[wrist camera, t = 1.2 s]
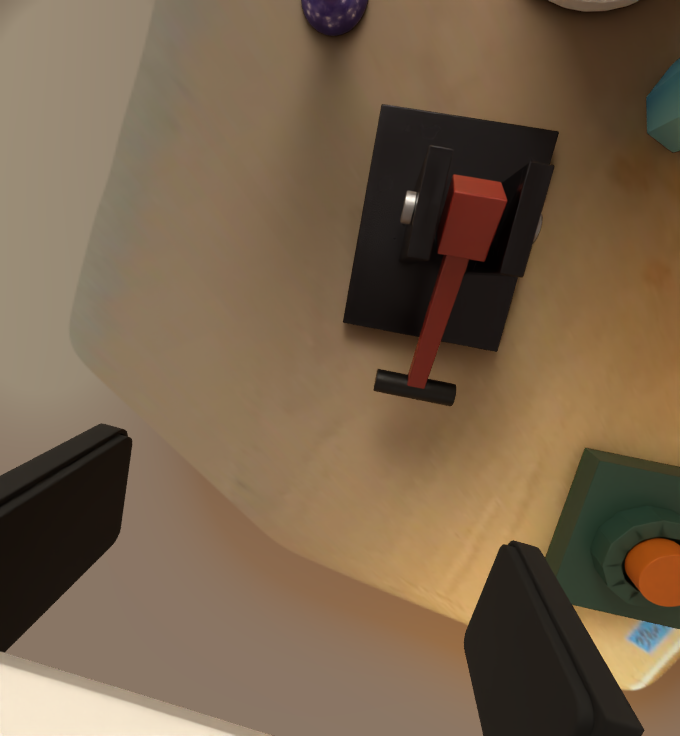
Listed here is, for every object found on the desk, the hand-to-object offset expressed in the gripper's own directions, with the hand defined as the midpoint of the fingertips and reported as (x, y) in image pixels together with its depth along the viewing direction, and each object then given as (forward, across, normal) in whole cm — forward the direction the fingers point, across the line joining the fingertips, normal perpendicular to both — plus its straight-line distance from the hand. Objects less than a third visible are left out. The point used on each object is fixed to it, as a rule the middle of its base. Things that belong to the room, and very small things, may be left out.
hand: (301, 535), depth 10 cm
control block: (+22, -24, +8) cm, 33 cm away
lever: (+15, -4, -6) cm, 16 cm away
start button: (+18, -24, +8) cm, 31 cm away
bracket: (+21, -3, -10) cm, 24 cm away
